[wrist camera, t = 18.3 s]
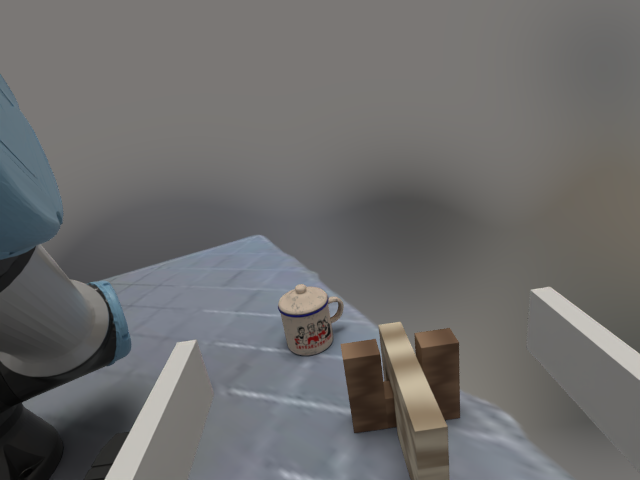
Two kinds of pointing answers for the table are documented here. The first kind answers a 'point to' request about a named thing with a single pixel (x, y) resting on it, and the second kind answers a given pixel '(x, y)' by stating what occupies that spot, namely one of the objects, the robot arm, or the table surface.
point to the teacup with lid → (308, 319)
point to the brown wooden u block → (377, 396)
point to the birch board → (414, 408)
